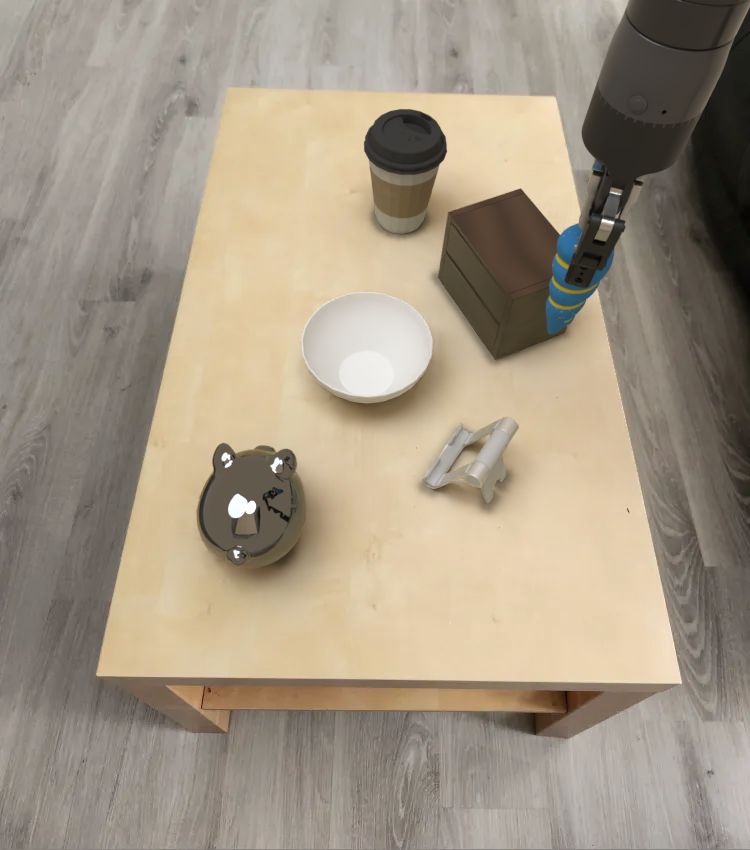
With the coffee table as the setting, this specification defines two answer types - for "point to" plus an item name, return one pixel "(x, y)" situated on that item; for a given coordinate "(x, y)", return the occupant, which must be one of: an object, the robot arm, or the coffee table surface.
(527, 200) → the wooden drawer cabinet
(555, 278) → the ornament
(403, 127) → the coffee cup
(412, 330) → the bowl
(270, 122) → the coffee table surface
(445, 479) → the tablet stand
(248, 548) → the piggy bank
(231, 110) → the coffee table surface
